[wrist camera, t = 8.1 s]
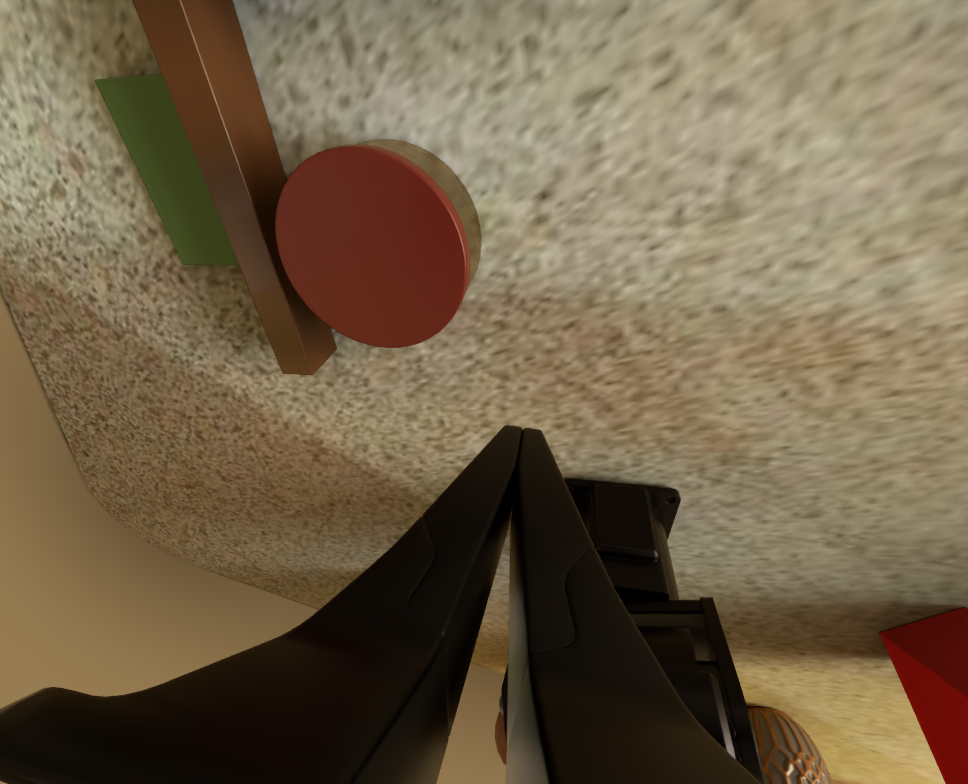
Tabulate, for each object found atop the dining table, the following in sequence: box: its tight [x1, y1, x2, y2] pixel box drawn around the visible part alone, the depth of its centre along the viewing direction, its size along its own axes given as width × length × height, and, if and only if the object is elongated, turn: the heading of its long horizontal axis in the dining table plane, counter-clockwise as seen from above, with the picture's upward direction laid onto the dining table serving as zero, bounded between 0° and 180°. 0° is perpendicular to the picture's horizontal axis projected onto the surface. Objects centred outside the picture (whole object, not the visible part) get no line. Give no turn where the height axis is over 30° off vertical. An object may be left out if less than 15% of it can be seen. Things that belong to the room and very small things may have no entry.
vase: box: [747, 708, 832, 784], centre depth 33 cm, size 7×7×9 cm
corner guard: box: [132, 0, 337, 375], centre depth 15 cm, size 16×17×2 cm
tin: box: [275, 140, 481, 348], centre depth 16 cm, size 7×7×3 cm
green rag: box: [95, 74, 239, 265], centre depth 17 cm, size 7×4×1 cm, turn 3°
